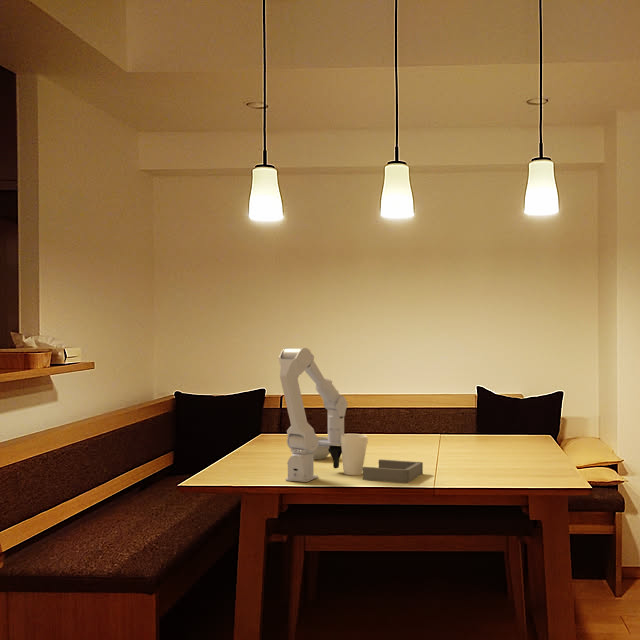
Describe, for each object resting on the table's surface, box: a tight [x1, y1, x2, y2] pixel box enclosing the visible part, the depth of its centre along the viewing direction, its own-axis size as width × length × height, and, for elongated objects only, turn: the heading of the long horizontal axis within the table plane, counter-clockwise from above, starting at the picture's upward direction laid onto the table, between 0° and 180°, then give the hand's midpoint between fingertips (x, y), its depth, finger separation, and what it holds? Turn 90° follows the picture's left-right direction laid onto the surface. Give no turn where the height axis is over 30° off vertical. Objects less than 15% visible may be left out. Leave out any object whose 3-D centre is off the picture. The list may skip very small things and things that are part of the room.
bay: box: [362, 459, 424, 484], centre depth 279 cm, size 17×16×4 cm
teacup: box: [313, 436, 330, 461], centre depth 318 cm, size 14×11×8 cm
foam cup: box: [340, 433, 369, 476], centre depth 285 cm, size 10×9×13 cm
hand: (336, 467), depth 288 cm, fingers closed, pressing on foam cup
